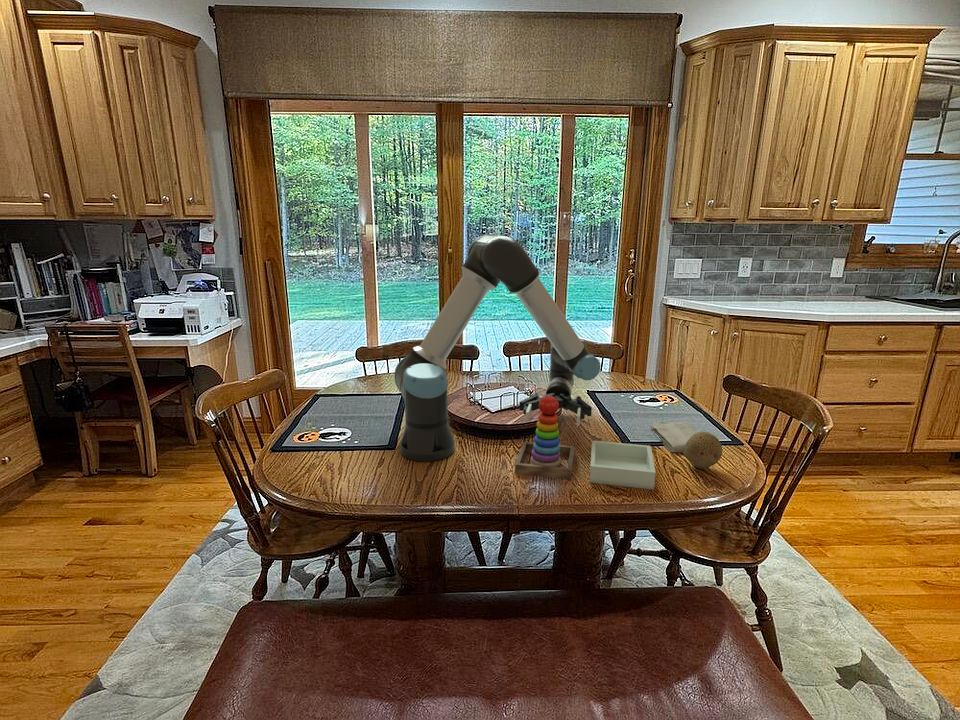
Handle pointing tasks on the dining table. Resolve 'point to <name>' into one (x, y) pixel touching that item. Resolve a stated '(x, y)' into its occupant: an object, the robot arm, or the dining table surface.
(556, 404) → the stacking toy
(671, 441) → the washcloth
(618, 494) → the dining table surface
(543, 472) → the walnut holder
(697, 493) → the dining table surface
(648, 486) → the sage tray
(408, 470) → the dining table surface
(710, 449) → the natural sponge
